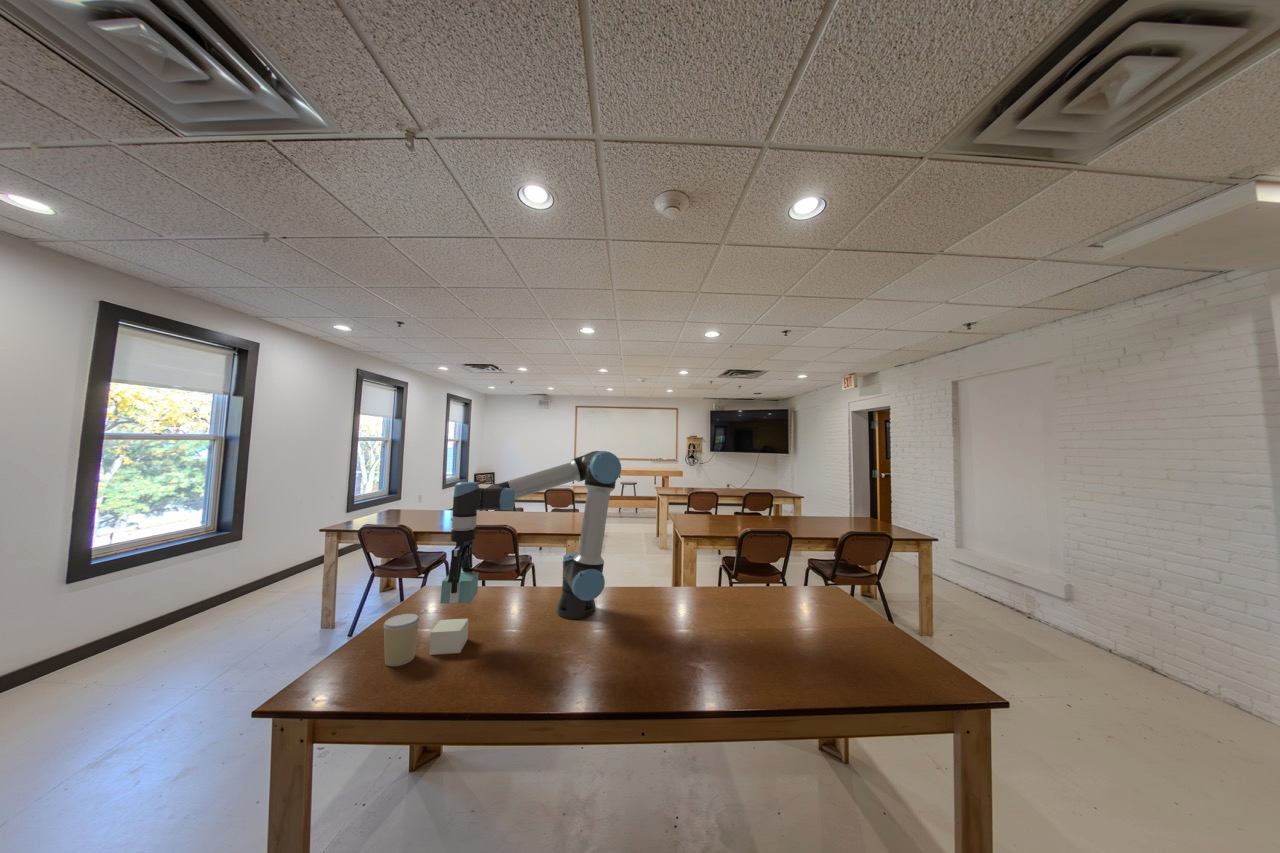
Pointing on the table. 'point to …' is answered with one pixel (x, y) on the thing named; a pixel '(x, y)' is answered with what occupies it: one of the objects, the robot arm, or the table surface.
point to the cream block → (449, 636)
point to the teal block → (461, 588)
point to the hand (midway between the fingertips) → (459, 596)
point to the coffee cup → (400, 639)
